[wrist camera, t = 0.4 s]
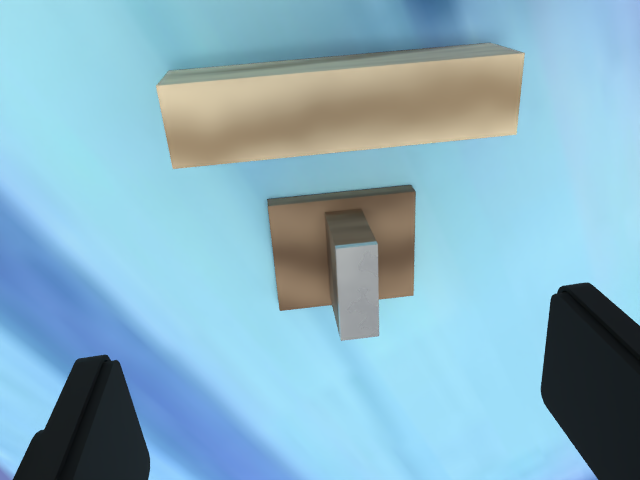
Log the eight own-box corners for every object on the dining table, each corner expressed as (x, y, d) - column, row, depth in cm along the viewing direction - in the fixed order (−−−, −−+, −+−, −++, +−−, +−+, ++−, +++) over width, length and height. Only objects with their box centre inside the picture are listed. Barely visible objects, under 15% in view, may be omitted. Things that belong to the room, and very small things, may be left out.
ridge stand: (267, 199, 44) (270, 243, 37) (410, 184, 45) (440, 225, 38) (279, 301, 49) (283, 358, 41) (408, 286, 49) (435, 339, 42)
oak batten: (168, 69, 39) (156, 85, 34) (488, 42, 41) (524, 53, 35) (182, 143, 42) (172, 168, 36) (483, 114, 43) (516, 134, 38)
